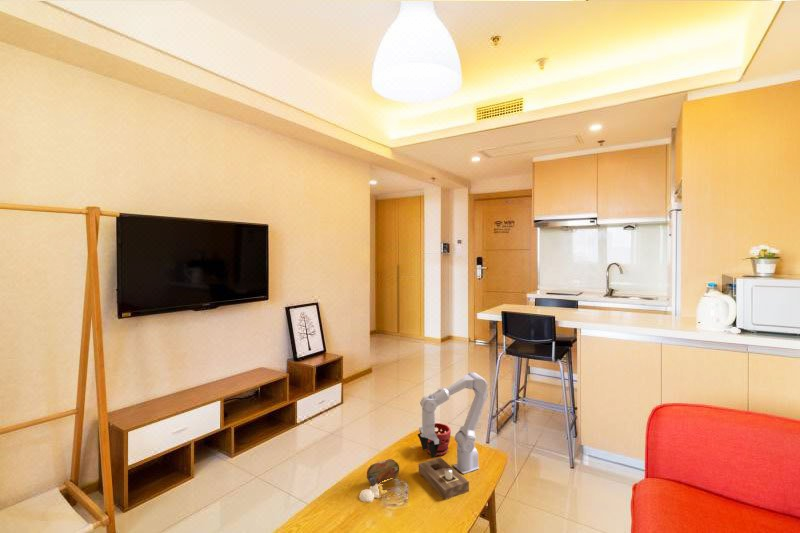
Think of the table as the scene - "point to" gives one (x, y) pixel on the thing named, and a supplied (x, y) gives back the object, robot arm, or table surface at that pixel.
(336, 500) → the table surface
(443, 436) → the plant pot
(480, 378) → the robot arm
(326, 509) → the table surface
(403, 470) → the table surface
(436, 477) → the bore block
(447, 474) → the pin
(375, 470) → the tin
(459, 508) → the table surface
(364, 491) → the astronaut figurine
